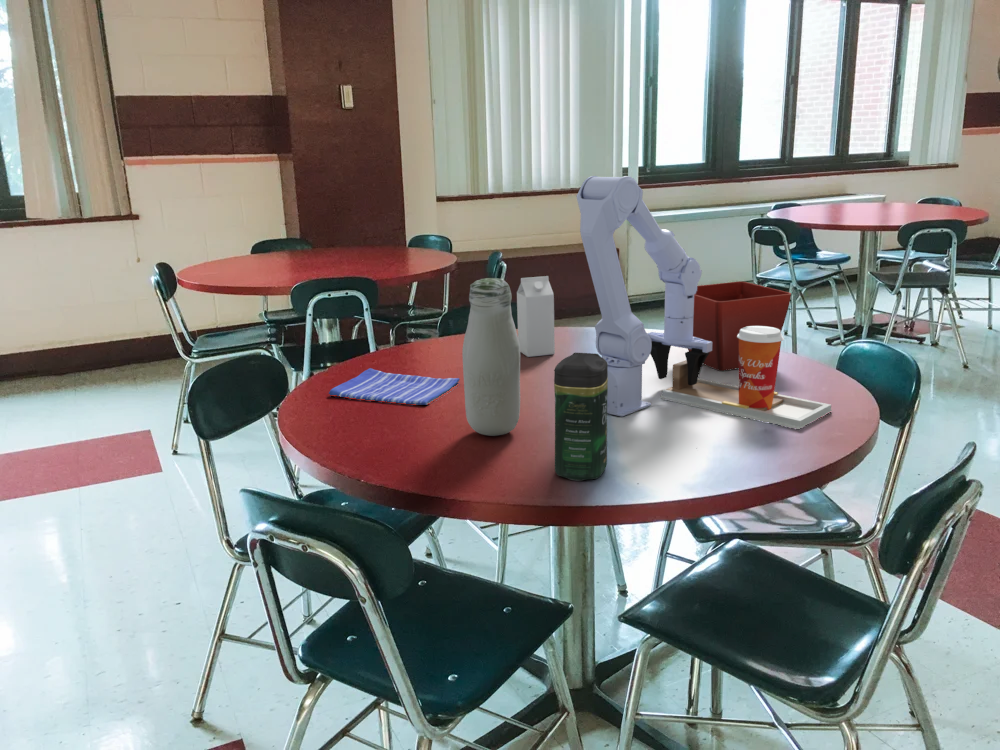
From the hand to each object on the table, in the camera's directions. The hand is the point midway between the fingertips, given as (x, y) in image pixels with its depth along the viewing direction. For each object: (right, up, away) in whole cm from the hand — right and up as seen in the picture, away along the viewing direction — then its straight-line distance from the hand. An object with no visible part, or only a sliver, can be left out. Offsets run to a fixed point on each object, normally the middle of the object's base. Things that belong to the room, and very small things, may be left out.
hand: (677, 381), depth 166 cm
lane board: (+11, -5, -10) cm, 15 cm away
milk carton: (-27, +7, +36) cm, 45 cm away
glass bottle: (-37, -9, -21) cm, 44 cm away
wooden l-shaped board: (+7, -4, -7) cm, 11 cm away
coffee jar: (-23, -14, -39) cm, 47 cm away
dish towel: (-59, -3, +8) cm, 59 cm away
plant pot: (+16, +4, +21) cm, 27 cm away
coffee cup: (+12, -5, -13) cm, 18 cm away
